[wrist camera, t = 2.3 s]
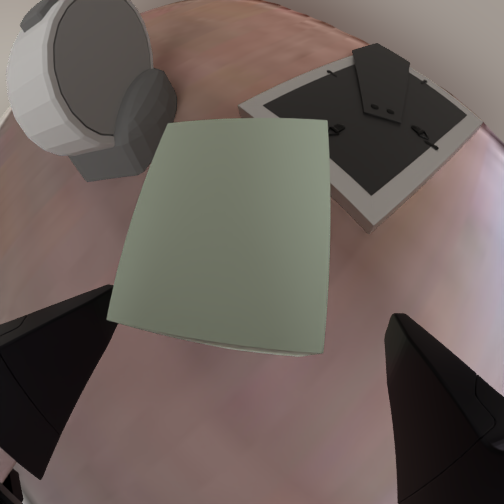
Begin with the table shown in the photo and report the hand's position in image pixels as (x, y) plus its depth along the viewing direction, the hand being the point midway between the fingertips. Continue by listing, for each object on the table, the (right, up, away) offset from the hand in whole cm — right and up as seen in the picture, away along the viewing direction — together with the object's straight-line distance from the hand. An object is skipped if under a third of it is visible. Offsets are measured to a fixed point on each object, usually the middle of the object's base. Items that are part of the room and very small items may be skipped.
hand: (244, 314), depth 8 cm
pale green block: (+1, -2, +9) cm, 9 cm away
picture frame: (+12, +14, +15) cm, 24 cm away
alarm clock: (-13, +15, +18) cm, 26 cm away
